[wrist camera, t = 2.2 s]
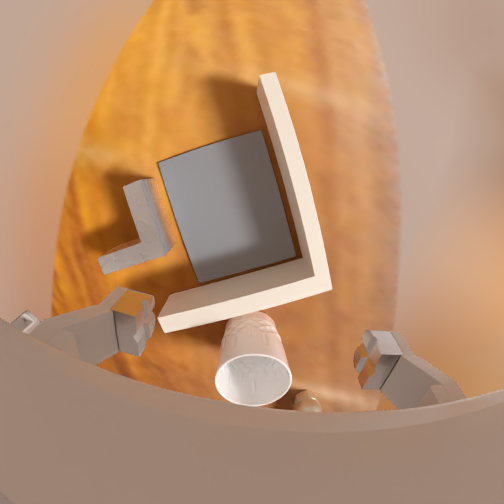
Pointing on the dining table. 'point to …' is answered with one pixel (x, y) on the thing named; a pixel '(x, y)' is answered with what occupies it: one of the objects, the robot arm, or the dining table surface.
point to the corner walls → (276, 277)
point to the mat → (228, 206)
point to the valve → (306, 401)
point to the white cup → (252, 361)
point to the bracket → (142, 229)
